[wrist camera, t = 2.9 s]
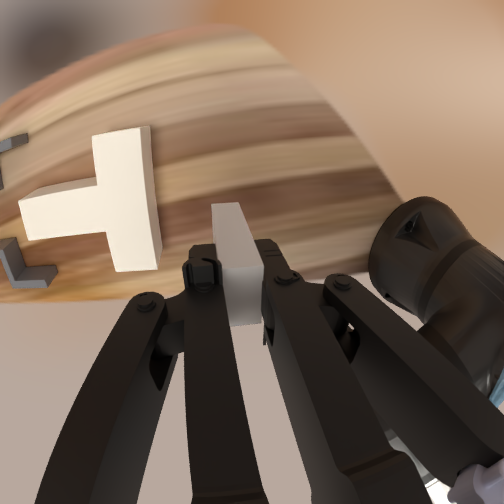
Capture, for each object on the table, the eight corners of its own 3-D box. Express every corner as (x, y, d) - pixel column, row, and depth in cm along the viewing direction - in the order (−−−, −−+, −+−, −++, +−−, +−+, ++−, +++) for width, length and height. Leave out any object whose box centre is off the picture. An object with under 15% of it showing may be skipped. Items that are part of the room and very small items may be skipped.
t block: (150, 125, 20) (140, 127, 17) (162, 247, 26) (157, 269, 23) (32, 150, 19) (10, 159, 15) (56, 256, 24) (41, 276, 21)
